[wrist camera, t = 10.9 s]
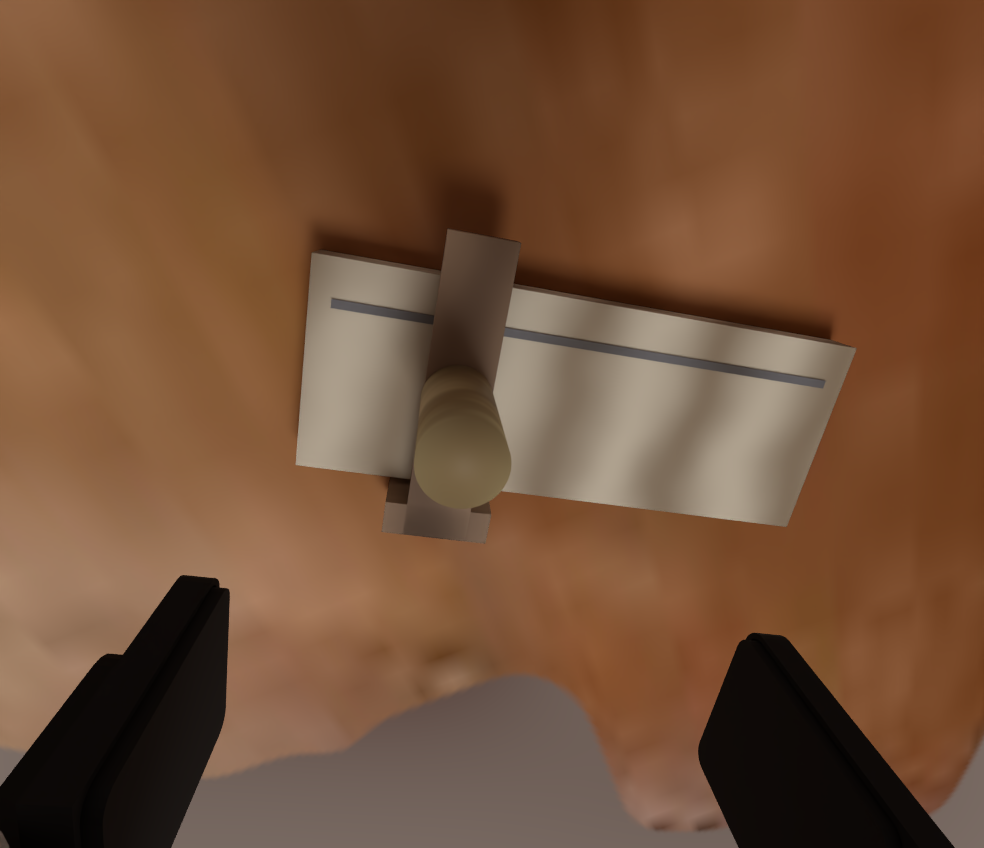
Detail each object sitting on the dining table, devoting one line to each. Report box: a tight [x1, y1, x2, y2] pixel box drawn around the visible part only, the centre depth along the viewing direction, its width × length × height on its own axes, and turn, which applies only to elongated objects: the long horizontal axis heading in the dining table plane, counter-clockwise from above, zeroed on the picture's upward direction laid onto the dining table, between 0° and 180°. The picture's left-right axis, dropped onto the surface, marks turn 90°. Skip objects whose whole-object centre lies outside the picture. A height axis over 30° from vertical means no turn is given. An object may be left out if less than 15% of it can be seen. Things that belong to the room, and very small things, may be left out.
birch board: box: [296, 250, 857, 527], centre depth 29 cm, size 26×10×2 cm, turn 80°
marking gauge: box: [382, 228, 521, 544], centre depth 24 cm, size 5×14×10 cm, turn 170°
